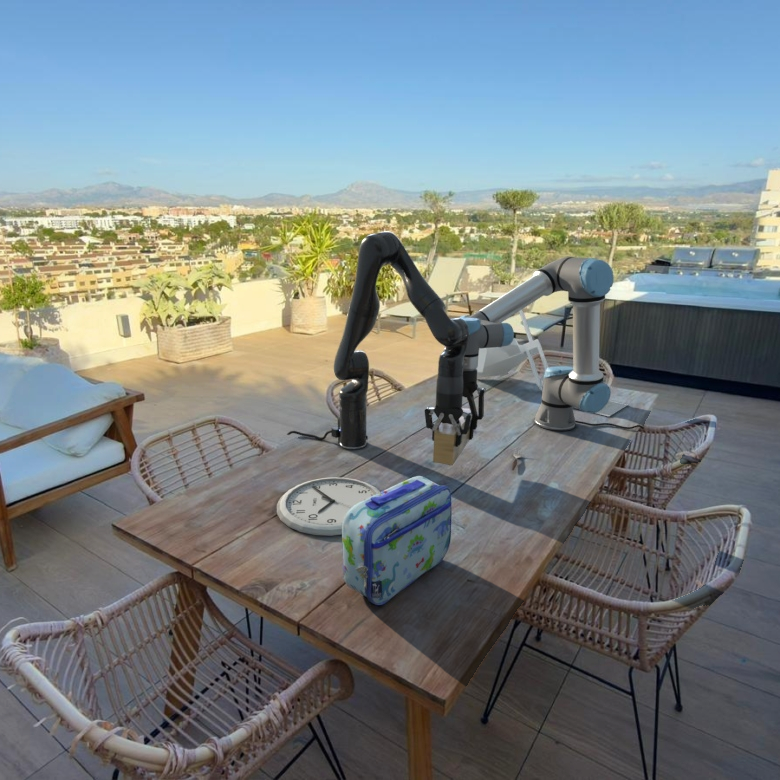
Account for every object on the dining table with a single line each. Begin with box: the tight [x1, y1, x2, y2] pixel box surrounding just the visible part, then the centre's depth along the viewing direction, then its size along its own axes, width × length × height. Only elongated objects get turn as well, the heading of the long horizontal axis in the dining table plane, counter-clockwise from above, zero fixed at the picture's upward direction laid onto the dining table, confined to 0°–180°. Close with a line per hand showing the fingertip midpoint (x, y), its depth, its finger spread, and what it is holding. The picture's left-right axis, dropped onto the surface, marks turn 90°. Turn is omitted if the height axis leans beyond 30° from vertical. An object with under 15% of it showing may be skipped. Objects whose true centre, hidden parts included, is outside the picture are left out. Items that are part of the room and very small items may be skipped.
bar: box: [432, 407, 471, 466], centre depth 161 cm, size 24×6×9 cm, turn 158°
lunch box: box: [341, 475, 453, 606], centre depth 111 cm, size 26×11×21 cm, turn 134°
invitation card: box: [573, 399, 629, 418], centre depth 226 cm, size 21×1×15 cm
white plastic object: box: [476, 309, 549, 392], centre depth 257 cm, size 37×45×31 cm
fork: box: [512, 447, 523, 471], centre depth 171 cm, size 3×16×2 cm, turn 160°
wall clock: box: [276, 476, 382, 537], centre depth 142 cm, size 30×2×30 cm
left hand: (446, 443), depth 153 cm, fingers closed on bar, 6 cm apart
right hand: (461, 436), depth 170 cm, fingers closed on bar, 6 cm apart
